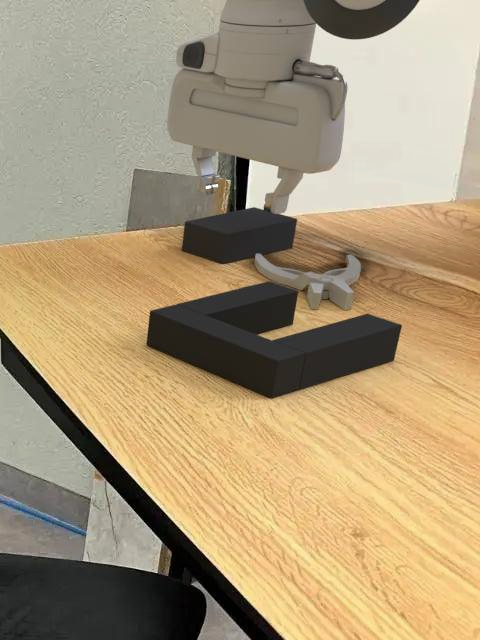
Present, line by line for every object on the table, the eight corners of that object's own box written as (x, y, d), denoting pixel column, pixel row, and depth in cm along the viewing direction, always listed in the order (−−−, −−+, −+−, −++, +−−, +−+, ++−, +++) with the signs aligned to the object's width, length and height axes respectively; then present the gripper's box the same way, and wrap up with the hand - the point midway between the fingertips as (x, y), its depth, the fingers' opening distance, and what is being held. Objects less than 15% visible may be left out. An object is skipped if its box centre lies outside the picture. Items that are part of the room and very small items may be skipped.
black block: (249, 235, 124) (254, 206, 123) (292, 247, 120) (297, 218, 118) (181, 250, 120) (184, 221, 118) (223, 264, 116) (227, 234, 114)
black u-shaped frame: (263, 313, 103) (269, 280, 101) (394, 360, 93) (402, 324, 91) (145, 344, 97) (149, 310, 95) (271, 398, 87) (277, 360, 85)
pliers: (356, 246, 114) (391, 293, 102) (352, 261, 115) (388, 310, 103) (254, 244, 115) (277, 291, 103) (252, 260, 116) (274, 308, 104)
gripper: (373, 65, 104) (341, 220, 111) (211, 40, 118) (192, 179, 126) (326, 71, 101) (296, 229, 108) (165, 45, 116) (149, 186, 123)
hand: (239, 202), depth 117 cm, fingers open, 8 cm apart
